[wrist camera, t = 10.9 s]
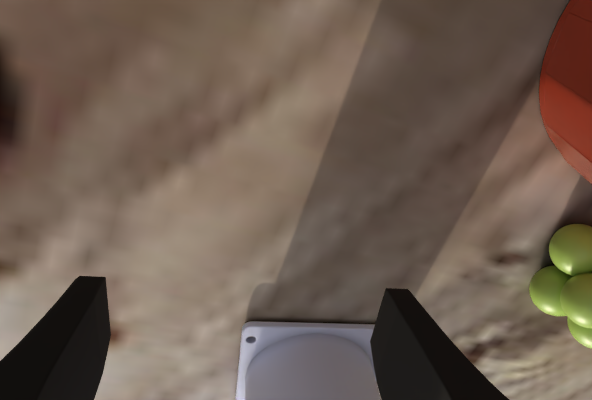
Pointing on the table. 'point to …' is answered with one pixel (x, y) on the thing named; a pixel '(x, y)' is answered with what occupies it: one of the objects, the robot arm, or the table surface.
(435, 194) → the table surface
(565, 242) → the grapes
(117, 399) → the table surface
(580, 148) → the pot
